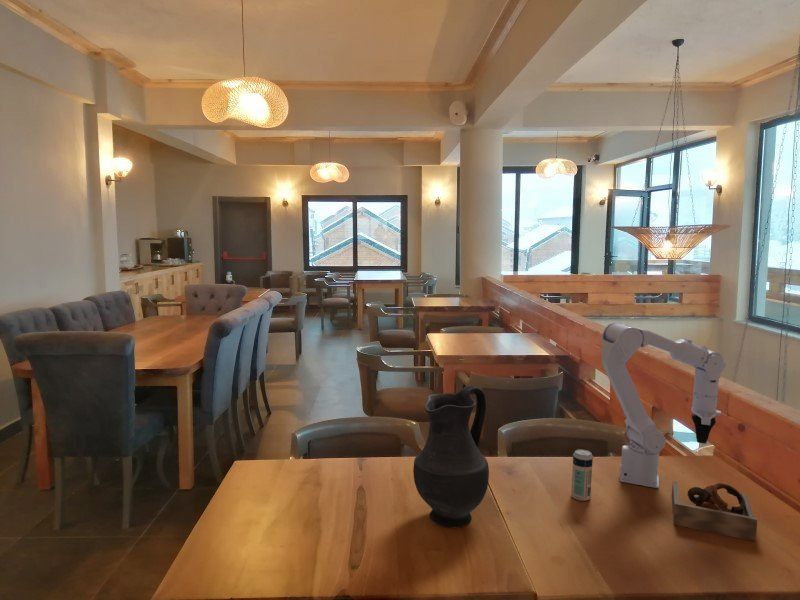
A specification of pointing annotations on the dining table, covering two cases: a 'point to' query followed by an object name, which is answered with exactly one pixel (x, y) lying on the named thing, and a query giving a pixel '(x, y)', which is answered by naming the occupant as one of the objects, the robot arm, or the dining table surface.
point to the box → (714, 518)
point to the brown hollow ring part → (716, 497)
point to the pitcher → (453, 458)
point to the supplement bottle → (582, 475)
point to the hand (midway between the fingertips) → (701, 442)
